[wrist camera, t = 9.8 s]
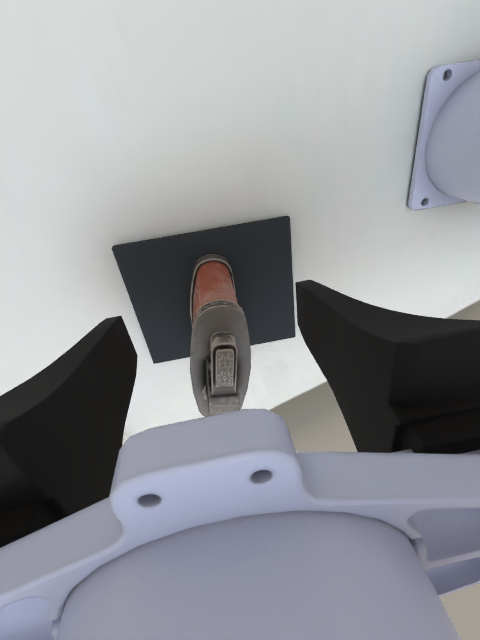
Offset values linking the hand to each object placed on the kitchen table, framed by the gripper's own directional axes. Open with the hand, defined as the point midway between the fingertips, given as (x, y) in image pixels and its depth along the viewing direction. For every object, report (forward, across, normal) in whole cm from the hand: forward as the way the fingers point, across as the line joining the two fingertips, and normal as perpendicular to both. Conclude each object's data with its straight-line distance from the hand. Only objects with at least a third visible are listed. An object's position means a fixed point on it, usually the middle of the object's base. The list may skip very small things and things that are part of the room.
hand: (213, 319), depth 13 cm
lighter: (+10, 0, +5) cm, 11 cm away
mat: (+10, 0, +4) cm, 11 cm away
